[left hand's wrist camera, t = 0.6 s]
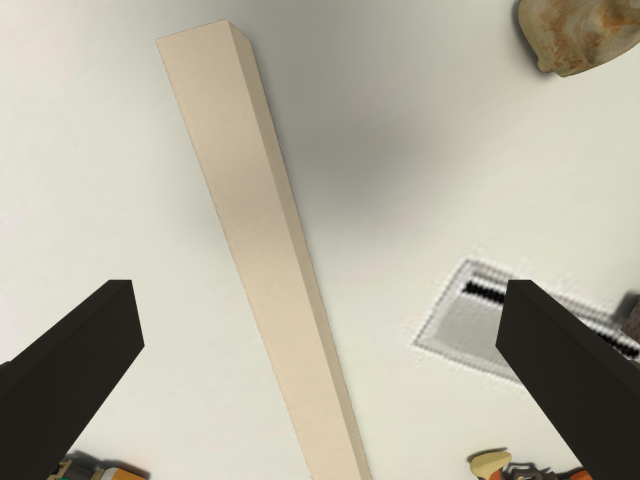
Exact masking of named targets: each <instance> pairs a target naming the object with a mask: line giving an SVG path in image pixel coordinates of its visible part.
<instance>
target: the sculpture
mask: <svg viewBox="0 0 640 480" xmlns="http://www.w3.org/2000/svg"><path fill="white" fill-rule="evenodd" d="M518 20H519V23H520V27H521V29H522V31H523V33H524V35H525V37H526V38H527V40H528V42H529V44H530V45H531V47H532V48H533V50H534V51H535V53H536V55H537V57H538V59H539V60H538V61H537V66H538V68H539V69H540V70H541V71H542V72H552V71H554V72H556V73H557V74H558V75H559V76H560V77H567V76H571V75H575V74H578V73H581V72H584V71H587V70H589V69H592V68H594V67H597V66H599V65H602V64H604V63H606V62H609V61H611V60H613V59H615V58H616V57H618V56H620V55H622V54H623V53H625V52H627V51H628V50H630V49H631V48H633V47H634V46H635V45H637V44H638V43H639V42H640V0H522V1H521V3H520V5H519V9H518Z"/></svg>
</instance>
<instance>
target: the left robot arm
mask: <svg viewBox="0 0 640 480" xmlns="http://www.w3.org/2000/svg"><path fill="white" fill-rule="evenodd" d="M144 346H145V345H144V340H143V335H142V330H141V325H140V320H139V315H138V310H137V305H136V300H135V295H134V290H133V285H132V280H108V281H107V282H106V283H105V284H104V285H102V286H101V287H100V288H99V289H98V290H96V291H95V292H94V293H93V294H91V295H90V296H89V297H88V298H87V299H85V300H84V301H83V302H82V303H81V304H79V305H78V306H77V307H76V308H75V309H73V310H72V311H71V312H70V313H68V314H67V315H66V316H65V317H64V318H62V319H61V320H60V321H59V322H58V323H56V324H55V325H54V326H53V327H52V328H50V329H49V330H48V331H47V332H45V333H44V334H43V335H42V336H41V337H39V338H38V339H37V340H36V341H35V342H33V343H32V344H31V345H30V346H29V347H27V348H26V349H25V350H24V351H22V352H21V353H20V354H19V355H18V356H16V357H15V358H14V359H13V360H12V361H7V362H5V363H3V364H1V365H0V480H47V479H48V478H49V476H50V475H51V474H52V472H53V471H54V470H55V468H56V467H57V465H58V464H59V463H60V461H61V460H62V459H63V457H64V456H65V455H66V453H67V452H68V450H69V449H70V448H71V446H72V445H73V444H74V442H75V441H76V439H77V438H78V437H79V435H80V434H81V433H82V431H83V430H84V428H85V427H86V426H87V424H88V423H89V422H90V420H91V419H92V418H93V416H94V415H95V413H96V412H97V411H98V409H99V408H100V407H101V405H102V404H103V402H104V401H105V400H106V398H107V397H108V396H109V394H110V393H111V391H112V390H113V389H114V387H115V386H116V385H117V383H118V382H119V381H120V379H121V378H122V376H123V375H124V374H125V372H126V371H127V370H128V368H129V367H130V365H131V364H132V363H133V361H134V360H135V359H136V357H137V356H138V354H139V353H140V352H141V350H142V349H143V348H144ZM495 346H496V348H497V349H498V350H499V352H500V353H501V354H502V356H503V357H504V359H505V360H506V361H507V363H508V364H509V365H510V367H511V368H512V370H513V371H514V372H515V374H516V375H517V376H518V378H519V379H520V381H521V382H522V383H523V385H524V386H525V387H526V389H527V390H528V391H529V393H530V394H531V396H532V397H533V398H534V400H535V401H536V402H537V404H538V405H539V407H540V408H541V409H542V411H543V412H544V413H545V415H546V416H547V418H548V419H549V420H550V422H551V423H552V424H553V426H554V427H555V428H556V430H557V431H558V433H559V434H560V435H561V437H562V438H563V439H564V441H565V442H566V444H567V445H568V446H569V448H570V449H571V450H572V452H573V453H574V455H575V456H576V457H577V459H578V460H579V461H580V463H581V464H582V465H583V467H584V468H585V470H586V471H587V472H588V474H589V475H590V476H591V478H592V479H593V480H640V363H638V362H636V361H634V360H627V359H626V358H625V357H624V356H622V355H621V354H620V353H619V352H618V351H616V350H615V349H614V348H613V347H611V346H610V345H609V344H608V343H607V342H605V341H604V340H603V339H602V338H601V337H599V336H598V335H597V334H596V333H595V332H593V331H592V330H591V329H590V328H588V327H587V326H586V325H585V324H584V323H582V322H581V321H580V320H579V319H578V318H576V317H575V316H574V315H573V314H572V313H570V312H569V311H568V310H567V309H565V308H564V307H563V306H562V305H561V304H559V303H558V302H557V301H556V300H555V299H553V298H552V297H551V296H550V295H549V294H547V293H546V292H545V291H544V290H542V289H541V288H540V287H539V286H538V285H536V284H535V283H534V282H533V281H532V280H508V285H507V290H506V295H505V300H504V305H503V310H502V315H501V320H500V325H499V330H498V335H497V340H496V345H495Z"/></svg>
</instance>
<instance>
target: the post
mask: <svg viewBox="0 0 640 480" xmlns="http://www.w3.org/2000/svg"><path fill="white" fill-rule="evenodd" d="M155 41H156V43H157V46H158V49H159V52H160V54H161V57H162V60H163V63H164V66H165V68H166V71H167V74H168V77H169V80H170V82H171V85H172V88H173V91H174V94H175V96H176V99H177V102H178V105H179V108H180V110H181V113H182V116H183V119H184V122H185V124H186V127H187V130H188V133H189V136H190V138H191V141H192V144H193V147H194V150H195V152H196V155H197V158H198V161H199V164H200V166H201V169H202V172H203V175H204V178H205V180H206V183H207V186H208V189H209V192H210V194H211V197H212V200H213V203H214V206H215V208H216V211H217V214H218V217H219V220H220V222H221V225H222V228H223V231H224V234H225V236H226V239H227V242H228V245H229V248H230V250H231V253H232V256H233V259H234V261H235V264H236V267H237V270H238V273H239V275H240V278H241V281H242V284H243V287H244V289H245V292H246V295H247V298H248V301H249V303H250V306H251V309H252V312H253V315H254V317H255V320H256V323H257V326H258V329H259V331H260V334H261V337H262V340H263V343H264V345H265V348H266V351H267V354H268V357H269V359H270V362H271V365H272V368H273V371H274V373H275V376H276V379H277V382H278V385H279V387H280V390H281V393H282V396H283V399H284V401H285V404H286V407H287V410H288V413H289V415H290V418H291V421H292V424H293V427H294V429H295V432H296V435H297V438H298V441H299V443H300V446H301V449H302V452H303V455H304V457H305V460H306V463H307V466H308V468H309V471H310V474H311V477H312V480H372V478H371V474H370V471H369V467H368V464H367V460H366V456H365V453H364V449H363V446H362V442H361V438H360V435H359V431H358V428H357V424H356V420H355V417H354V413H353V410H352V406H351V402H350V399H349V395H348V392H347V388H346V384H345V381H344V377H343V374H342V370H341V366H340V363H339V359H338V356H337V352H336V348H335V345H334V341H333V338H332V334H331V330H330V327H329V323H328V319H327V316H326V312H325V309H324V305H323V301H322V298H321V294H320V291H319V287H318V283H317V280H316V276H315V273H314V269H313V265H312V262H311V258H310V255H309V251H308V247H307V244H306V240H305V237H304V233H303V229H302V226H301V222H300V219H299V215H298V211H297V208H296V204H295V201H294V197H293V193H292V190H291V186H290V183H289V179H288V175H287V172H286V168H285V165H284V161H283V157H282V154H281V150H280V147H279V143H278V139H277V136H276V132H275V128H274V125H273V121H272V118H271V114H270V110H269V107H268V103H267V100H266V96H265V92H264V89H263V85H262V82H261V78H260V74H259V71H258V67H257V64H256V60H255V56H254V53H253V49H252V46H251V42H250V40H249V39H248V38H247V37H246V36H245V35H244V34H243V33H242V32H241V31H239V30H238V29H237V28H236V27H235V26H234V25H233V24H232V23H231V22H230V21H229V20H228V19H224V20H221V21H217V22H214V23H210V24H207V25H203V26H200V27H197V28H193V29H190V30H186V31H183V32H179V33H176V34H172V35H169V36H165V37H162V38H158V39H156V40H155Z"/></svg>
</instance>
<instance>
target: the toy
mask: <svg viewBox="0 0 640 480" xmlns="http://www.w3.org/2000/svg"><path fill="white" fill-rule="evenodd" d="M620 330H621V331H623V332H624V333H625V334H627V335H628V336H629V337H631V338H632V339H633V340H635V341H636V342H637V343H639V344H640V299H639V301H638V303H637V304H636V306H635V307H634V309H633V310H632V312H631V314H630V315H629V317H628V318H627V320H626V321H625V323H624V325H623V326H622V328H621V329H620Z"/></svg>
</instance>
